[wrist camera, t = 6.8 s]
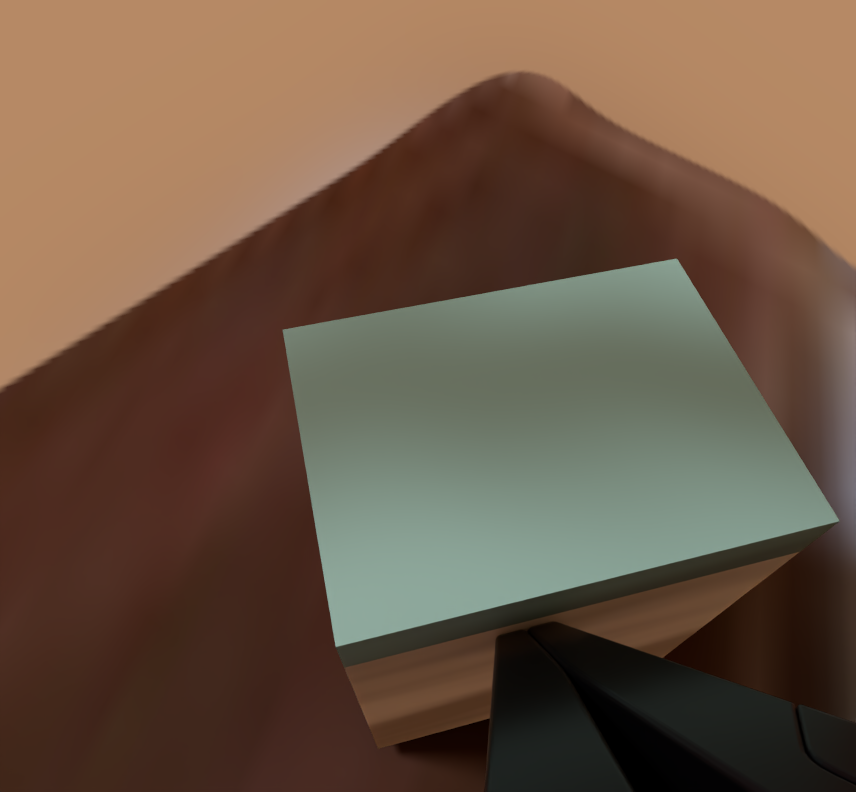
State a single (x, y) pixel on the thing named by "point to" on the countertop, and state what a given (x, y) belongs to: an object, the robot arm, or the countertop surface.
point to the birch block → (535, 481)
